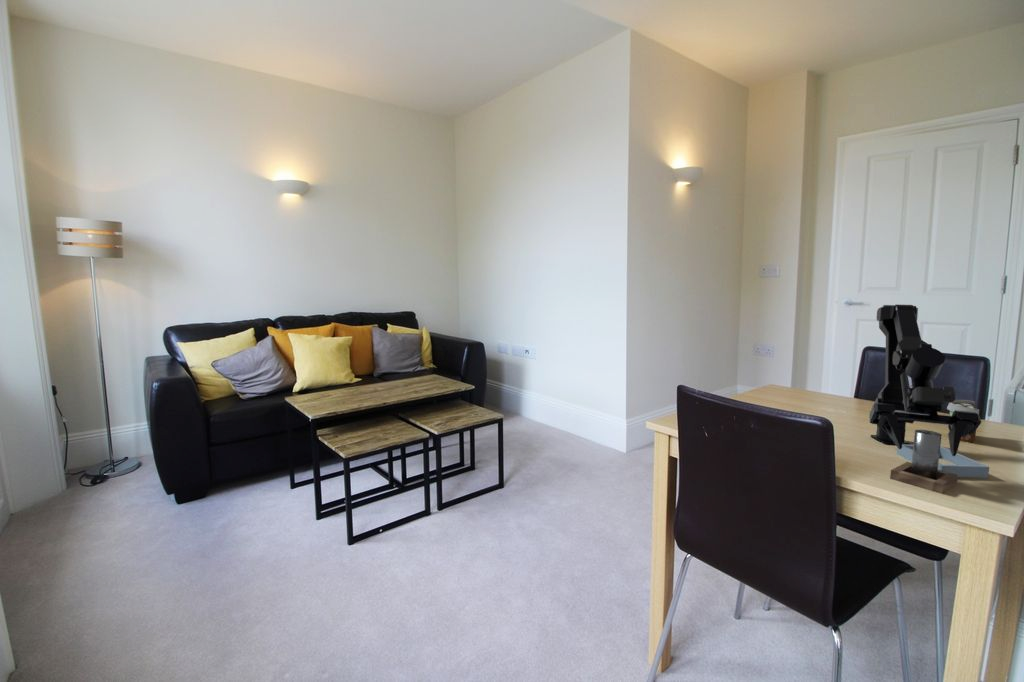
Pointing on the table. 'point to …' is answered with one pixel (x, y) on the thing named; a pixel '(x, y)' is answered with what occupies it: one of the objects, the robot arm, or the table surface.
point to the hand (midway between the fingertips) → (926, 451)
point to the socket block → (924, 479)
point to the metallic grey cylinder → (926, 453)
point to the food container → (964, 406)
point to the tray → (963, 464)
